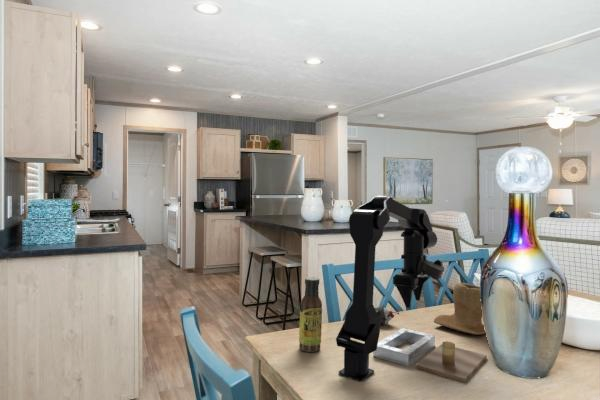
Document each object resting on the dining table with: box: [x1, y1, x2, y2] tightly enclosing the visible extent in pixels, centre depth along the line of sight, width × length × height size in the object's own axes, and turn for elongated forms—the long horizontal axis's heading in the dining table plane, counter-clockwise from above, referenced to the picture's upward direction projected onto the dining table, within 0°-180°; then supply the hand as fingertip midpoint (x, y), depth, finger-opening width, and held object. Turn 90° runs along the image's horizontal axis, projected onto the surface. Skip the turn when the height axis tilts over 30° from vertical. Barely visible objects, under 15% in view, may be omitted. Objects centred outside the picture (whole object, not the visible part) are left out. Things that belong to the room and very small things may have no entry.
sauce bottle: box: [298, 276, 323, 353], centre depth 113 cm, size 6×6×20 cm
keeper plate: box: [415, 341, 488, 384], centre depth 104 cm, size 18×12×6 cm, turn 141°
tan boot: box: [433, 282, 486, 336], centre depth 130 cm, size 15×12×15 cm
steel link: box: [372, 327, 436, 367], centre depth 112 cm, size 18×10×3 cm, turn 141°
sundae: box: [374, 304, 400, 326], centre depth 135 cm, size 7×7×15 cm
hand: (413, 303), depth 119 cm, fingers open, 9 cm apart
